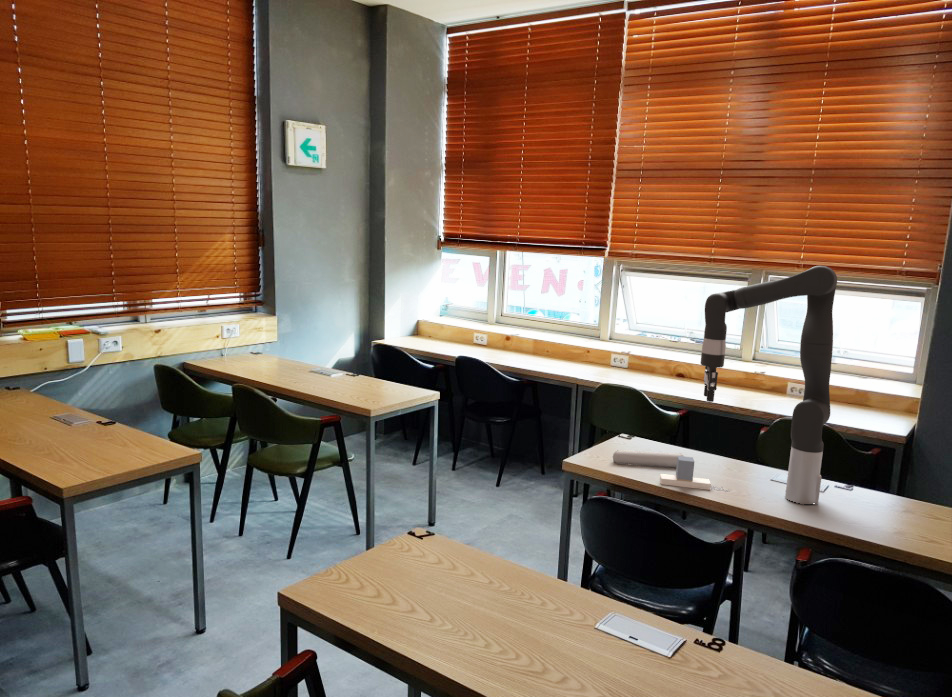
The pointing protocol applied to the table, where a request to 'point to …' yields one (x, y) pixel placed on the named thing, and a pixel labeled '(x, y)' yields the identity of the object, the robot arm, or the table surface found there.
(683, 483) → the board
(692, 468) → the block
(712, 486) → the mark
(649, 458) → the tube
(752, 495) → the table surface
